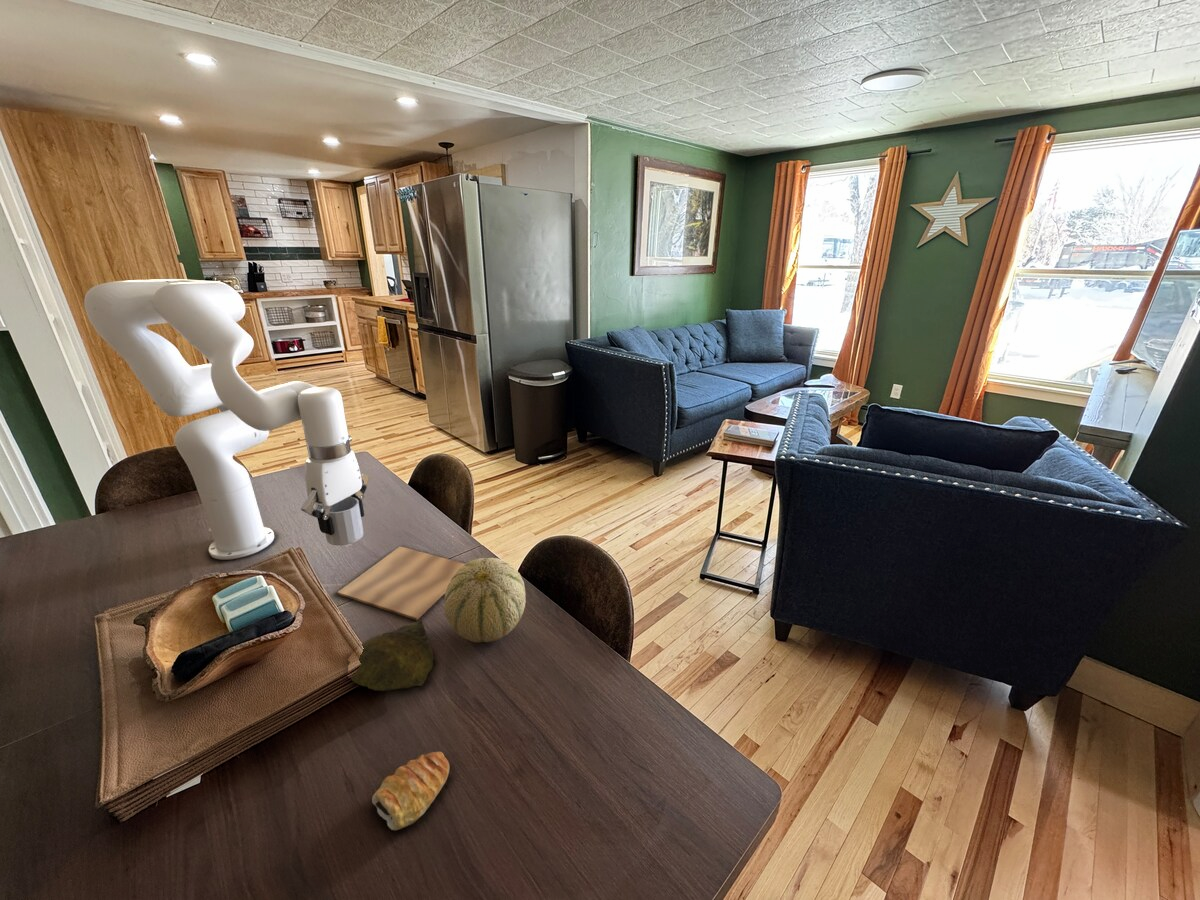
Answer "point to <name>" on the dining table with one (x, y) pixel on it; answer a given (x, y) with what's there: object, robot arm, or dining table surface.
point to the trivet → (403, 582)
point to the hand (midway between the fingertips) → (343, 523)
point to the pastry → (411, 790)
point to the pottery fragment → (395, 659)
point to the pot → (345, 522)
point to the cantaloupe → (485, 600)
